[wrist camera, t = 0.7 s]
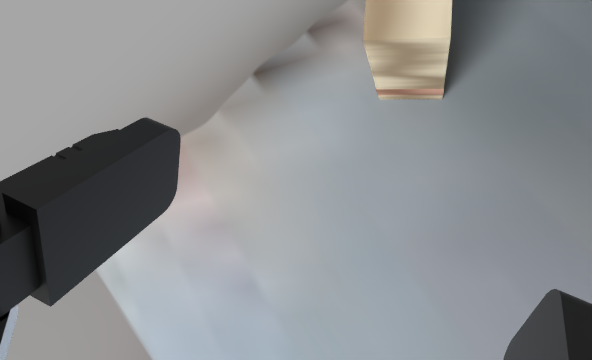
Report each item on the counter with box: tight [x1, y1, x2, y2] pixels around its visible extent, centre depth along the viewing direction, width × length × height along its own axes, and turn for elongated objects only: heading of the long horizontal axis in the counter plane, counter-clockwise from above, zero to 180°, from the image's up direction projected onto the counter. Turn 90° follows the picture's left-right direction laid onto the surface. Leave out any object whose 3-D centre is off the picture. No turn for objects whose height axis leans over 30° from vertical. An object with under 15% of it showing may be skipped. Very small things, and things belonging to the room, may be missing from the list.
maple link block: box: [363, 0, 452, 99], centre depth 29 cm, size 5×5×10 cm
